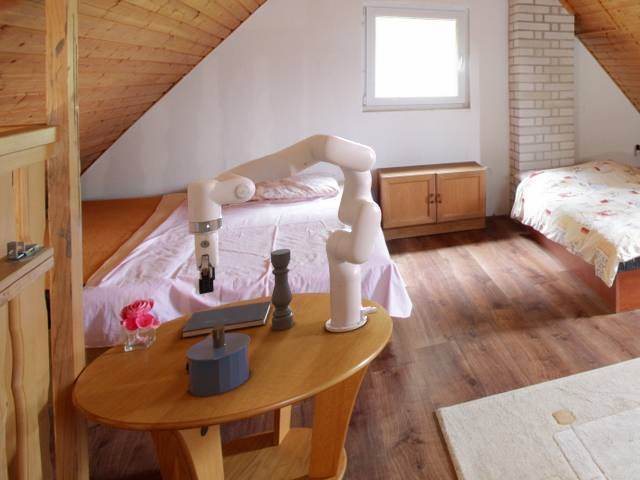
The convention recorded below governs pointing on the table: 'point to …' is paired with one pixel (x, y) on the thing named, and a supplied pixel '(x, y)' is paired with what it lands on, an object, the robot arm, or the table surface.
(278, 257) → the candle holder
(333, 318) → the robot arm
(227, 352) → the lid
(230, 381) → the blue pot
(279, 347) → the table surface
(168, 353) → the table surface
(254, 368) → the table surface
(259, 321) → the hardcover book
